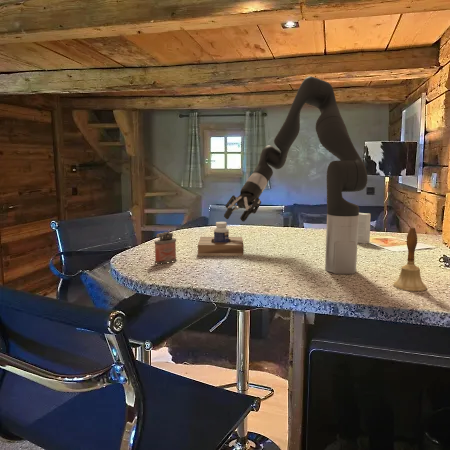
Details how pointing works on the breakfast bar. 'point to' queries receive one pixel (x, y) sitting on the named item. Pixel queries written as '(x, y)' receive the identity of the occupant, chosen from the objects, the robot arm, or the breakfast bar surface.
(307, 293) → the breakfast bar surface
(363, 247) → the breakfast bar surface
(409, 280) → the hand bell
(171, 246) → the lighter
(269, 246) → the breakfast bar surface
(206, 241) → the socket block
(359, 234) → the skincare box
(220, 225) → the pill bottle
